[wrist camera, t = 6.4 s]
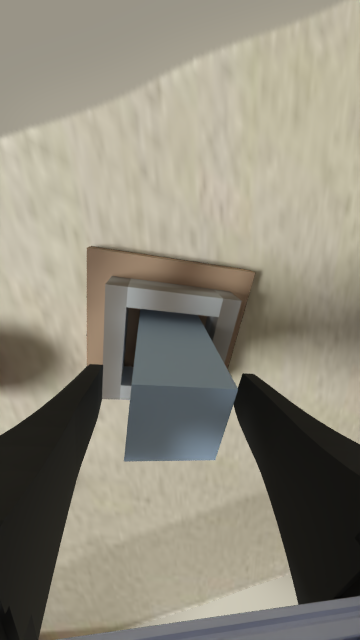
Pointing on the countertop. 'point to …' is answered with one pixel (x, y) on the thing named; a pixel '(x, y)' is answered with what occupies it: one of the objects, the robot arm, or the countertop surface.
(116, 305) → the socket board
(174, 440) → the peg
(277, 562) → the countertop surface
